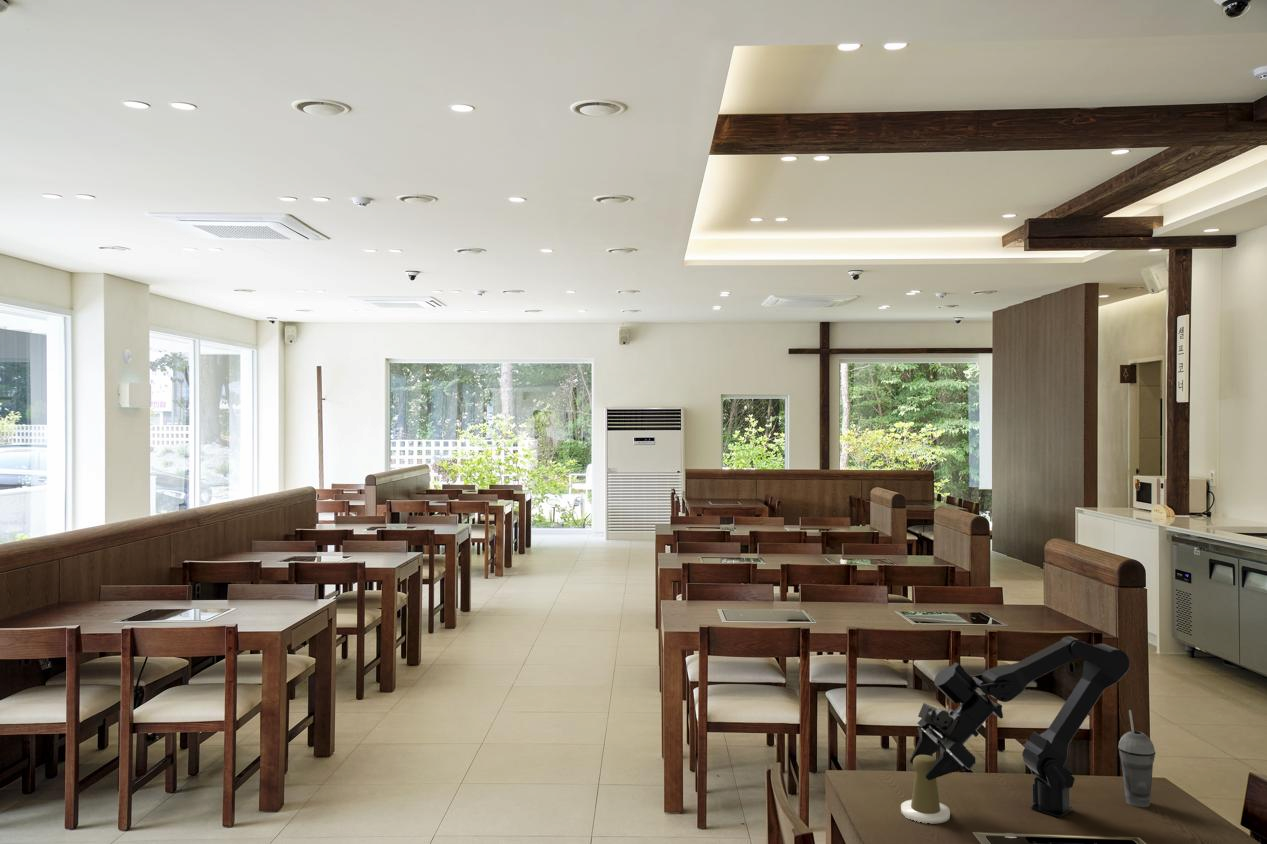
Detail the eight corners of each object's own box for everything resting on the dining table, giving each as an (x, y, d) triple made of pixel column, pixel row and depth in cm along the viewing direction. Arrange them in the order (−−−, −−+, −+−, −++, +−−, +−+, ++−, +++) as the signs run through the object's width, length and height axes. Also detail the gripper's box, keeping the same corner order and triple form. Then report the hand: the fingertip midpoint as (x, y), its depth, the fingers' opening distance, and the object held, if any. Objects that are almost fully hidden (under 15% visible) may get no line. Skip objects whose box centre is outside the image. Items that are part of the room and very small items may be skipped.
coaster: (959, 815, 194) (959, 809, 195) (932, 827, 188) (932, 822, 188) (919, 801, 202) (918, 795, 202) (891, 812, 196) (891, 807, 196)
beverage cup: (1149, 812, 195) (1147, 718, 196) (1113, 802, 200) (1111, 711, 201) (1162, 803, 200) (1159, 711, 200) (1126, 794, 205) (1124, 704, 206)
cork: (946, 812, 193) (945, 760, 193) (920, 814, 192) (920, 762, 192) (930, 801, 199) (930, 750, 199) (905, 803, 198) (905, 752, 198)
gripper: (925, 680, 205) (878, 731, 205) (959, 704, 187) (907, 759, 186) (960, 714, 206) (913, 765, 205) (997, 741, 187) (946, 797, 186)
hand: (918, 770), depth 195 cm, fingers open, 9 cm apart
